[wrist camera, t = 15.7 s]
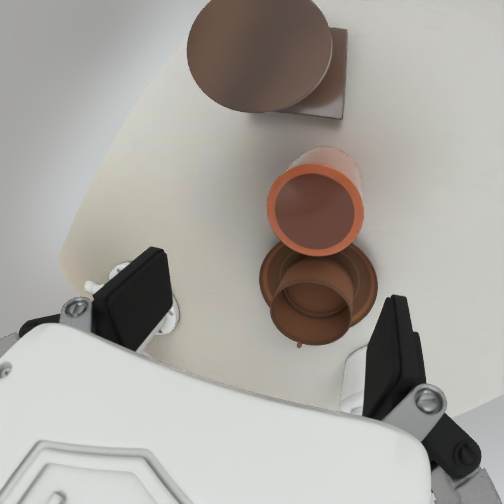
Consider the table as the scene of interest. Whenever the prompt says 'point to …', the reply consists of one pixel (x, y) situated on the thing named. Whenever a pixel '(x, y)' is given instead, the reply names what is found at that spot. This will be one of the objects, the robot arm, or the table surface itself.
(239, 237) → the table surface
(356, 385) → the eye dropper bottle
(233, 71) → the cat scratching post
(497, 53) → the table surface
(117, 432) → the robot arm
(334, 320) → the cup and saucer
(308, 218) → the terracotta cup
